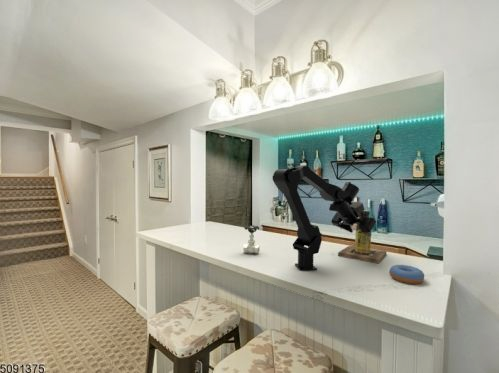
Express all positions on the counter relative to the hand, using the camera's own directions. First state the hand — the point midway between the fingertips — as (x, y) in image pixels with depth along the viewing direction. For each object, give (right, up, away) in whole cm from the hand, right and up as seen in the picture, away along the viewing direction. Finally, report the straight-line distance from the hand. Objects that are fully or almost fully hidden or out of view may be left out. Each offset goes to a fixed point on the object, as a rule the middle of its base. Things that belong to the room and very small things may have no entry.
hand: (361, 233), depth 112 cm
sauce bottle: (+1, -10, +1) cm, 10 cm away
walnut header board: (+1, -10, +1) cm, 10 cm away
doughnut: (+4, -11, -26) cm, 28 cm away
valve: (-48, -9, +2) cm, 49 cm away
